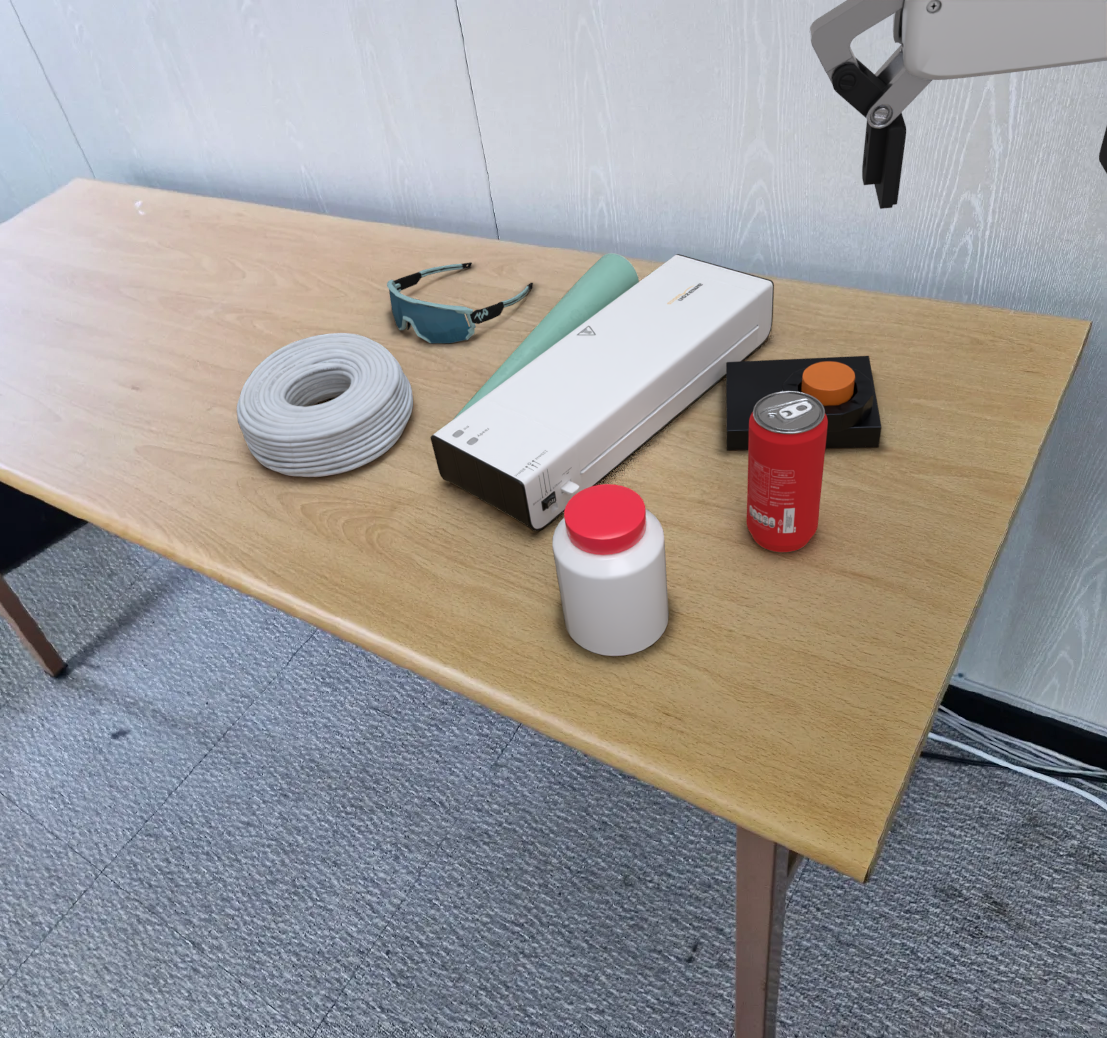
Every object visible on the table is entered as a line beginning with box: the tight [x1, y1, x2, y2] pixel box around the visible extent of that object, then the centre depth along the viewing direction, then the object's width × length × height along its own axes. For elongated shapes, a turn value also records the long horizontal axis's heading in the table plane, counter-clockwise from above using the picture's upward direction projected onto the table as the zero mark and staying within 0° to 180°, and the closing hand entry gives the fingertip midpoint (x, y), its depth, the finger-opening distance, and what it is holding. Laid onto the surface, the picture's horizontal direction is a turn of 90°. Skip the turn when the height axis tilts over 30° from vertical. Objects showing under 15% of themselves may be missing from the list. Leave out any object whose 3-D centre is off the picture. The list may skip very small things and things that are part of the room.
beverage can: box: [746, 391, 828, 554], centre depth 72 cm, size 5×5×12 cm
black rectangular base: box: [725, 355, 882, 451], centre depth 84 cm, size 12×10×4 cm
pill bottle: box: [551, 483, 670, 657], centre depth 70 cm, size 8×8×11 cm
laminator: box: [430, 253, 775, 532], centre depth 89 cm, size 34×12×6 cm, turn 132°
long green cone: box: [453, 252, 640, 419], centre depth 97 cm, size 5×6×27 cm
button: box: [801, 361, 855, 406], centre depth 81 cm, size 4×4×2 cm
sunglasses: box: [386, 261, 534, 344], centre depth 110 cm, size 14×15×5 cm
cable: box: [236, 332, 414, 478], centre depth 97 cm, size 18×18×6 cm
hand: (996, 185), depth 46 cm, fingers open, 9 cm apart
